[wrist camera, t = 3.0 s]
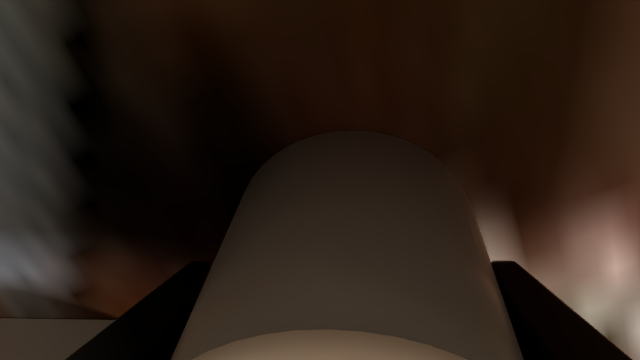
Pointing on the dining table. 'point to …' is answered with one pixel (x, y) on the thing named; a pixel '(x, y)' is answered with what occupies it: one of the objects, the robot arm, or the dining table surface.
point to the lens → (351, 262)
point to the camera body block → (45, 337)
